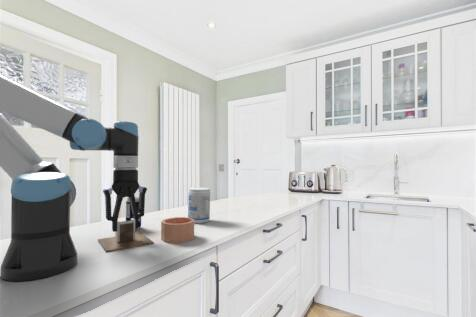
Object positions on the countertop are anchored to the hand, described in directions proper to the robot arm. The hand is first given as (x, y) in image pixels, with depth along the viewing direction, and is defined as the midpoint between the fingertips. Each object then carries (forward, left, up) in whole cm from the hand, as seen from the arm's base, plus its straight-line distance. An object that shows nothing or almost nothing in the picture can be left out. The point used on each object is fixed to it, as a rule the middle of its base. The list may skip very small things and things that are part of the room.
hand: (125, 239), depth 86 cm
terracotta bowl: (+16, -6, -1) cm, 17 cm away
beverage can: (+7, +16, -1) cm, 17 cm away
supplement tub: (+34, +12, -1) cm, 36 cm away
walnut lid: (0, 0, -1) cm, 1 cm away
